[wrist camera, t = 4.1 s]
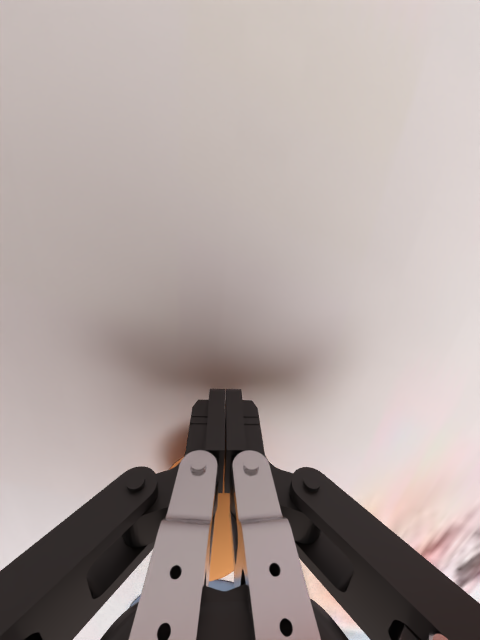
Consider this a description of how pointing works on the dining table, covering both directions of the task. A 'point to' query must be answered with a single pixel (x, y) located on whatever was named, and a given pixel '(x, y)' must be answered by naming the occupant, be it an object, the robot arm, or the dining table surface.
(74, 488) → the dining table surface
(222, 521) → the ball
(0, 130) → the dining table surface
